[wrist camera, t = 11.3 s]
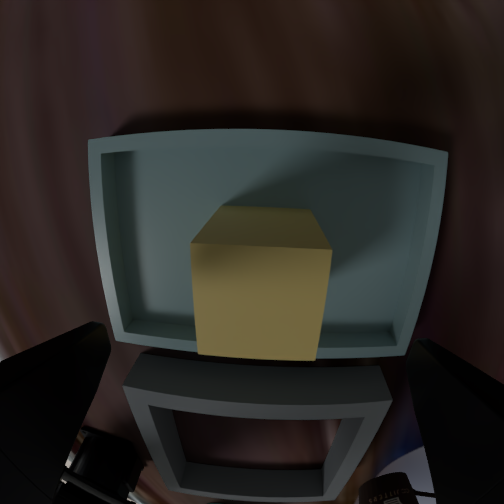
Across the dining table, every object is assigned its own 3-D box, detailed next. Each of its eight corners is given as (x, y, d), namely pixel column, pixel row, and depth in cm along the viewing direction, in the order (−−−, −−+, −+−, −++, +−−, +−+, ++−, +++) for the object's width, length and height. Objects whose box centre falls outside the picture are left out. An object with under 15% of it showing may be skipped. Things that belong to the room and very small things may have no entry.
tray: (127, 323, 19) (115, 340, 17) (107, 139, 15) (87, 139, 13) (395, 336, 18) (404, 355, 16) (429, 150, 14) (448, 152, 12)
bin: (175, 465, 25) (168, 489, 22) (140, 353, 20) (122, 385, 16) (331, 474, 25) (334, 499, 21) (379, 365, 19) (392, 399, 15)
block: (221, 285, 17) (197, 354, 11) (220, 205, 15) (189, 243, 9) (302, 289, 16) (315, 360, 11) (310, 209, 15) (332, 249, 9)
